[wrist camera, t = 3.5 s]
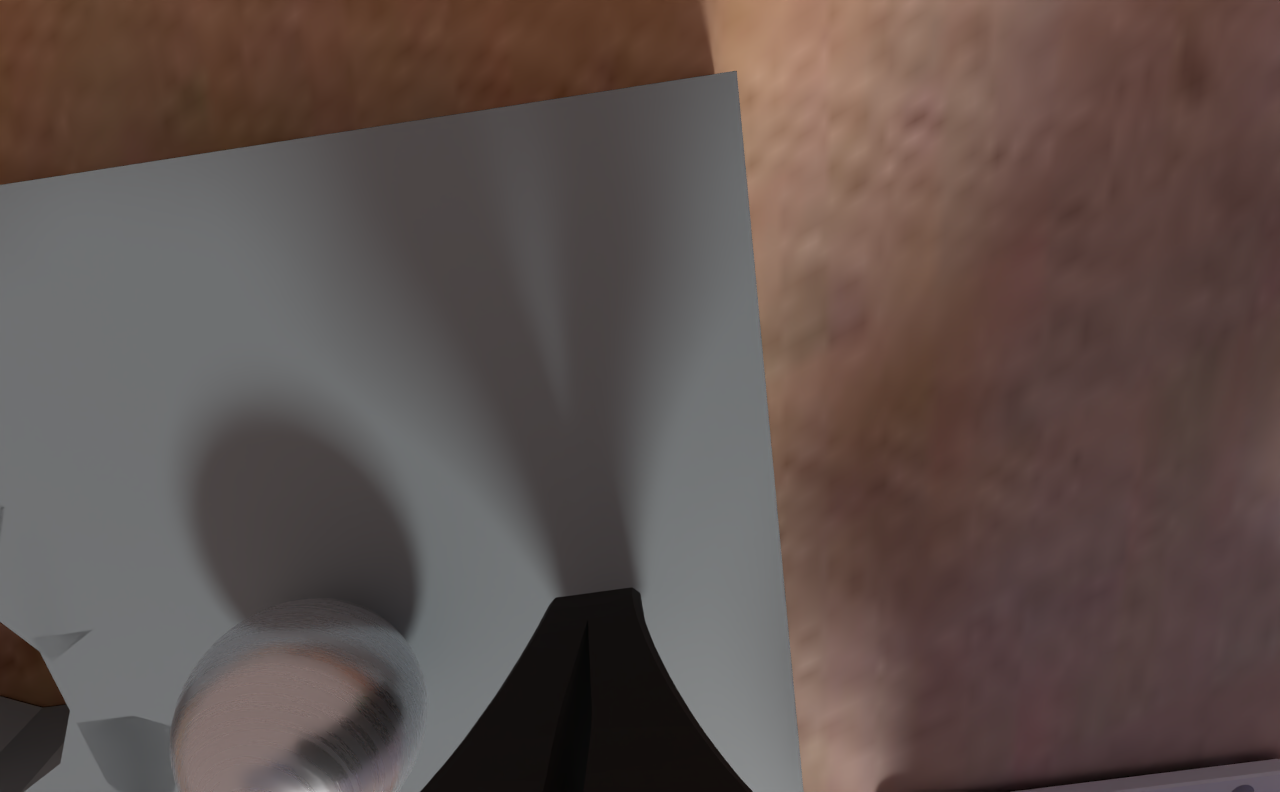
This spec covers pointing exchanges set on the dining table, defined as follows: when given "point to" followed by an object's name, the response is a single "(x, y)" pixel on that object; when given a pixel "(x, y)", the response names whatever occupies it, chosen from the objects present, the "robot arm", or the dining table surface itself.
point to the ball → (301, 705)
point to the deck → (391, 416)
